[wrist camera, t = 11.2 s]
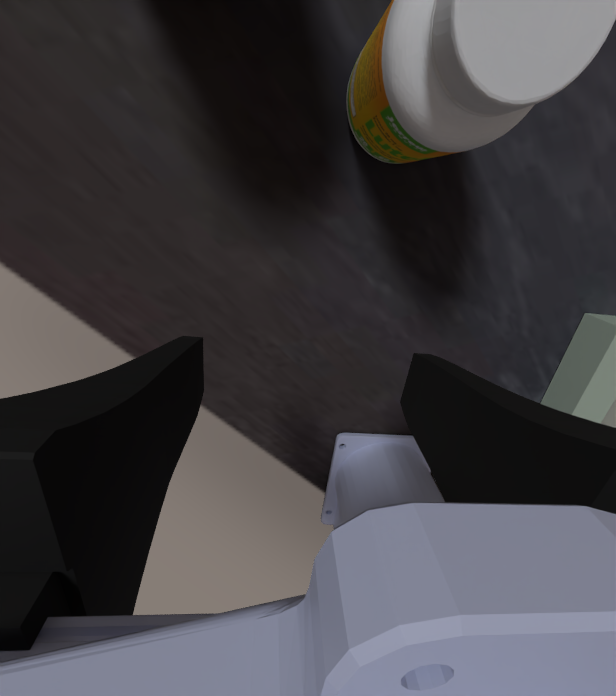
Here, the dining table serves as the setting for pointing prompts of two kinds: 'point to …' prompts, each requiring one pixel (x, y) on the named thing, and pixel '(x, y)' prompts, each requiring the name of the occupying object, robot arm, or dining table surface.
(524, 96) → the supplement bottle
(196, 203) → the dining table surface
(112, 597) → the robot arm
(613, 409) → the plug
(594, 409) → the socket board
